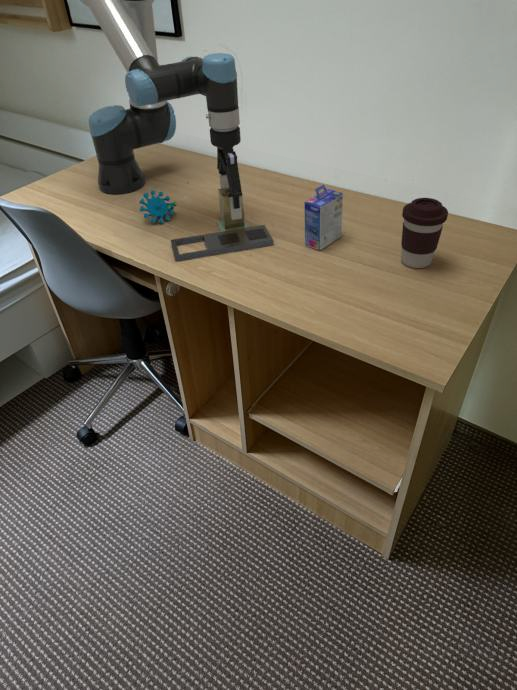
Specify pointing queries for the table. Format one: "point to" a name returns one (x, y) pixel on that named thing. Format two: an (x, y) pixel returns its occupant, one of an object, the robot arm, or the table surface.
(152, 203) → the blue spiky knobbed toy
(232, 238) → the rail
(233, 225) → the wooden speaker box
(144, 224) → the table surface
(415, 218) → the coffee cup
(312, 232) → the ink cartridge box
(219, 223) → the translucent green panel
